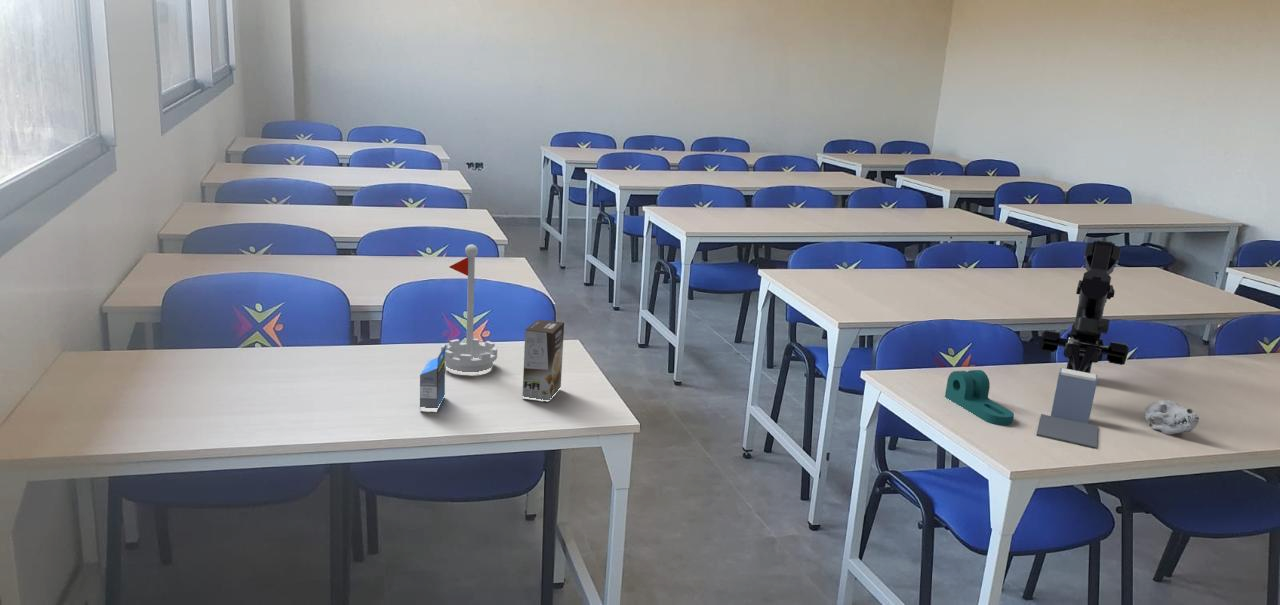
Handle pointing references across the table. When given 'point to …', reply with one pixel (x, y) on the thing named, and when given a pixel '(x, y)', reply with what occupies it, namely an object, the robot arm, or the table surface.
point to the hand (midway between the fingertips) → (1077, 377)
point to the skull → (1170, 417)
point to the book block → (1074, 395)
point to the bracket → (976, 396)
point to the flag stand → (469, 328)
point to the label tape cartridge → (433, 382)
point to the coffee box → (543, 359)
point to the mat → (1068, 431)
